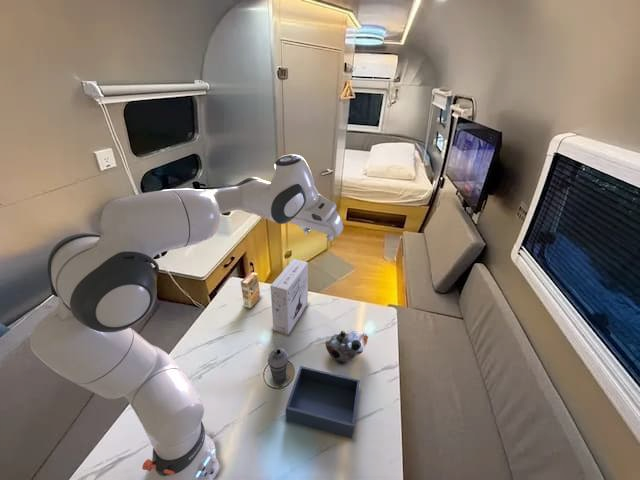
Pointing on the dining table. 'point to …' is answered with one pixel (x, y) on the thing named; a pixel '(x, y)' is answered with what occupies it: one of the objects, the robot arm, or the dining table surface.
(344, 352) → the lucky cat figurine
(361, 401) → the dining table surface
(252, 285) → the candy box
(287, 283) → the cereal box
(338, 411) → the blue open storage box
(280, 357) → the beverage cup
